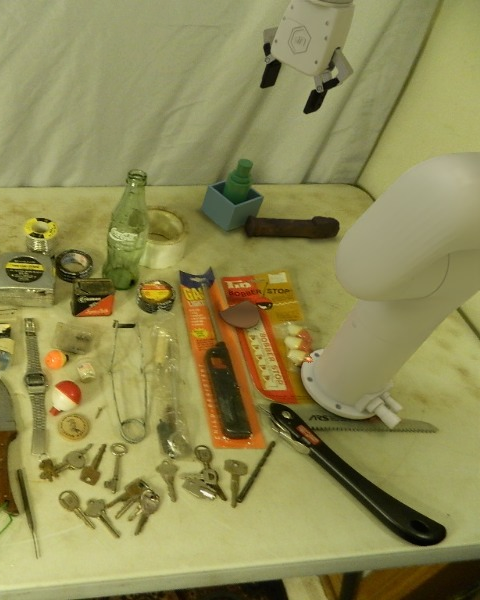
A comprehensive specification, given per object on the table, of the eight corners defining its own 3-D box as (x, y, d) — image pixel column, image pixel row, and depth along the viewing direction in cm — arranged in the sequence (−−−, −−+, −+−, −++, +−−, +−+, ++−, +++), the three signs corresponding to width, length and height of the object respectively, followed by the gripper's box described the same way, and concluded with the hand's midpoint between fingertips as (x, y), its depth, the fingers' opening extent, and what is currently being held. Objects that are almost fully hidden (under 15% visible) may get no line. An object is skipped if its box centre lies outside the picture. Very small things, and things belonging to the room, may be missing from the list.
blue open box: (254, 222, 110) (264, 196, 105) (225, 233, 106) (235, 207, 102) (228, 201, 114) (237, 175, 109) (200, 211, 111) (207, 185, 106)
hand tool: (246, 240, 106) (253, 221, 102) (242, 227, 108) (249, 209, 105) (338, 246, 106) (349, 228, 103) (332, 234, 109) (342, 216, 106)
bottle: (244, 218, 110) (264, 166, 101) (227, 225, 108) (245, 172, 99) (228, 205, 112) (246, 153, 103) (210, 211, 110) (227, 159, 101)
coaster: (267, 319, 91) (268, 318, 91) (237, 334, 88) (238, 332, 88) (239, 293, 95) (240, 292, 95) (210, 306, 92) (210, 305, 92)
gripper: (269, -29, 80) (236, 81, 93) (364, 12, 71) (313, 128, 84) (301, -33, 84) (265, 74, 96) (396, 4, 74) (342, 117, 87)
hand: (287, 99), depth 90 cm, fingers open, 9 cm apart
